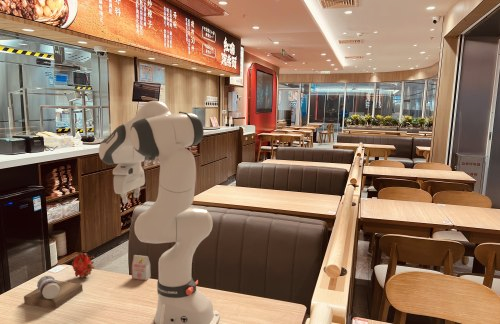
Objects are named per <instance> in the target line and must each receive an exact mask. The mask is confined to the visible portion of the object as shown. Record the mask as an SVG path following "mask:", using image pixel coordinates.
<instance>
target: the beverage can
mask: <svg viewBox="0 0 500 324" xmlns="http://www.w3.org/2000/svg"><path fill="white" fill-rule="evenodd" d="M56 280H57V279H55V278H54V277H53V276H51V275H44V276H42V277H41V278H39V279H38V280H37V285H36V287H37V288H38V289H39V291H40V292H41V294H42V296H43V297H44V298H46V299H52V298H55V297H56V296H57V295H58V294H59V292H60V285H59V284H58V283H57V281H56Z"/></svg>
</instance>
